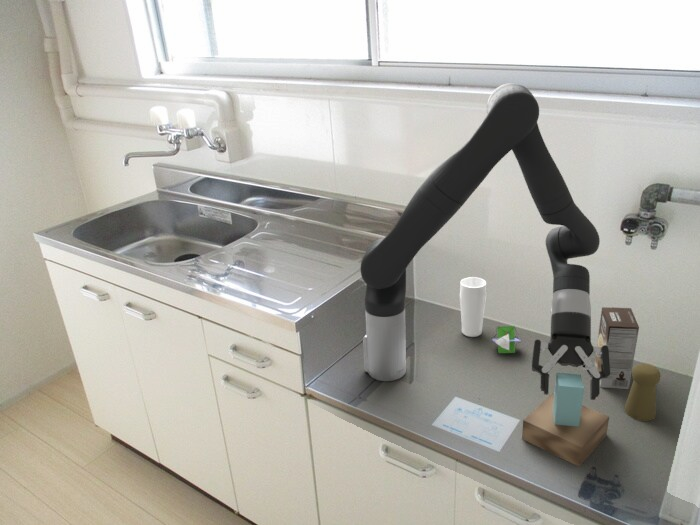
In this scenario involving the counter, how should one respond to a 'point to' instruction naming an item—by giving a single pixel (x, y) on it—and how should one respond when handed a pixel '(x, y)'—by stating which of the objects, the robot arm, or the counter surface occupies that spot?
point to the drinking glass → (472, 305)
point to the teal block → (568, 399)
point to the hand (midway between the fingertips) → (569, 396)
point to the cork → (643, 393)
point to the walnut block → (565, 432)
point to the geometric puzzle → (506, 339)
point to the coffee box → (617, 345)
